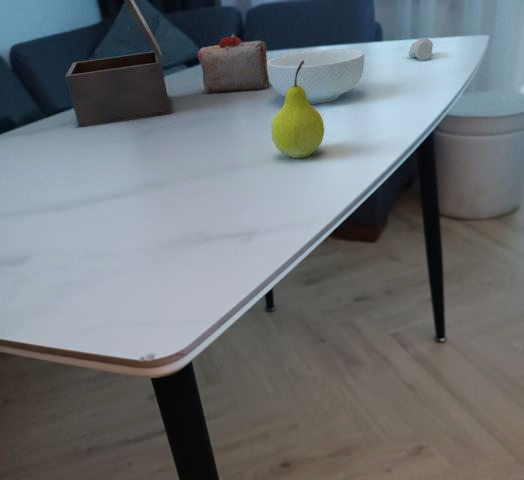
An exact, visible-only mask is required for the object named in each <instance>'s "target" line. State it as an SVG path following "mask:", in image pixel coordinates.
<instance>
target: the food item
mask: <svg viewBox="0 0 524 480" xmlns="http://www.w3.org/2000/svg"><path fill="white" fill-rule="evenodd" d="M197 58H198V62H199V65H200V67H201V71H202V83H203V88H204V92H205V94H217V93H218V94H219V93H225V92H227V93H228V92H240V91H255V90H265V89H267V88H269V85H270V81H269V78H268V73H267V62H268V59H267V44H266V42H265V41H263V40H253V41H242V39H241V38H240V37H237V36H235V34H234V33H232V34H231V35H230V37H228V35H226V36H225V37H223V38H221V39H220V42H219V43H218V44H216V45H210V46H206V47H203V46H202V47H201V48H200V49H199V51H197Z"/></svg>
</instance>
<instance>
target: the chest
mask: <svg viewBox="0 0 524 480" xmlns="http://www.w3.org/2000/svg"><path fill="white" fill-rule="evenodd" d="M65 81H66V84H67V88H68V91H69V95H70V99H71V102H72V106H73V111H74V115H75V118H76V121H77V124H78V128H85V127H91V126H100V125H107V124H111V123H118V122H125V121H132V120H138V119H145V118H153V117H158V116H160V117H161V116H166V115H171V114H172V113H171V107H170V103H169V96H168V91H167V86H166V80H165V74H164V69H163V63H162V59H161V60H160V61H159V60H158V58H157V57H156V55H155V53H154V51H148V52H139V53H133V54H126V55H118V56H111V57H104V58H97V59H90V60H83V61H75V62H72V64H71V65H70V67H69V69H68V71H67V72H66V74H65Z"/></svg>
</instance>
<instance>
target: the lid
mask: <svg viewBox="0 0 524 480" xmlns="http://www.w3.org/2000/svg"><path fill="white" fill-rule="evenodd" d="M124 1H125V3H126V5H127V7H128V9H129V11H130V12H131V14H132V16H133V18H134V19H135V21H136V24H137V25H138V27H139V28H140V30H141V32H142V34H143V35H144V37H145V39H146V41H147V43H148V45H149V46H150V48H151V50H152V52H154V53H155V55H156V57H157V58H158V60H159V61H160V60H161V61H162V60H163V54H162V50H161V47H160V45H159V43H158V41H157V40H156V38H155V36H154V34H153V32H152V30H151V29H150V27H149V25H148V23H147V22H146V19H145V18H144V16H143V14H142V12H141V11H140V9H139V7H138V6H137V4H136V2H135V0H124Z"/></svg>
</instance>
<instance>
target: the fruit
mask: <svg viewBox="0 0 524 480" xmlns="http://www.w3.org/2000/svg"><path fill="white" fill-rule="evenodd" d="M303 63H304V61H302V62H301V64H300V65H299V67H298V69H297V72H296V76H295V83H294V86H292V87H290V88H289V89H288V91H287V93H286V96H284V97H285V98H284V103H283V106H282V108H281V109H279V111H278V112H276V113H275V115H274V117H273V118H272V121H271V127H270V129H271V130H270V131H271V138H272V140H273V141H272V142H273V144H274V146H275V148H276V149H277V150H278V151H279V152H280V153H281V154H284V155H286V156H288V157H290V158H292V159H305V158H308V157H310V156H311V155H312V154H313V153H315V152H316V151H317V150H318V148H319V147H321V146H320V145H321V144H322V142H323V139H324V133H325V125H324V121H323V118H322V115H321V114H320V113H319V111H318V110H317V109H316V108H315V107H314V106H312V104H309V103H308V100H307V98H306V94H305V91H304V89H303V88H302V87H301V86H298V85H297V81H296V80H297V74H298V72H299V70H300V69H301V66H302V65H303Z"/></svg>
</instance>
